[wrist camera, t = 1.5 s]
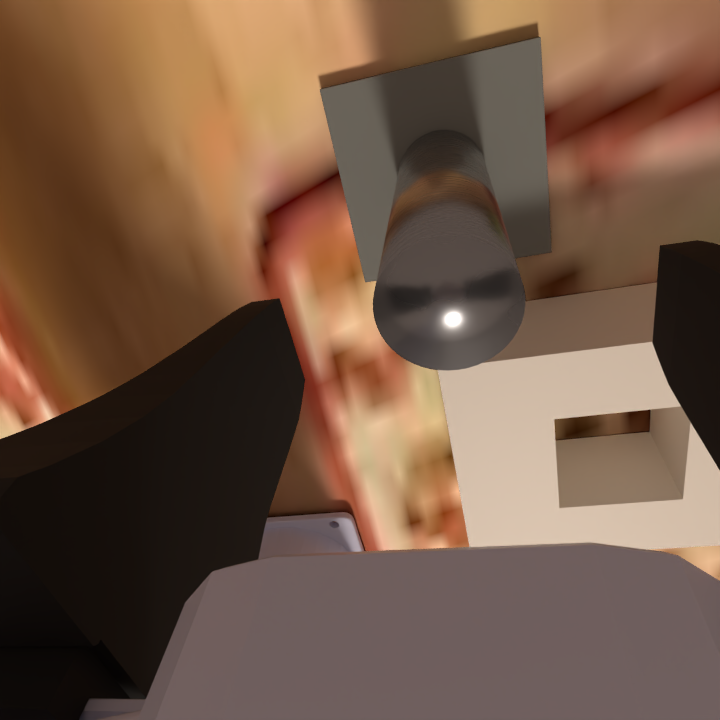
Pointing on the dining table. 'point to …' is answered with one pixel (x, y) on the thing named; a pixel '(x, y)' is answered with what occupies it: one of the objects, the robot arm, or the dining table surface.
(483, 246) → the steel pin
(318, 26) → the dining table surface
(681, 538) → the block
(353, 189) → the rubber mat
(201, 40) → the dining table surface
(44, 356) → the dining table surface
